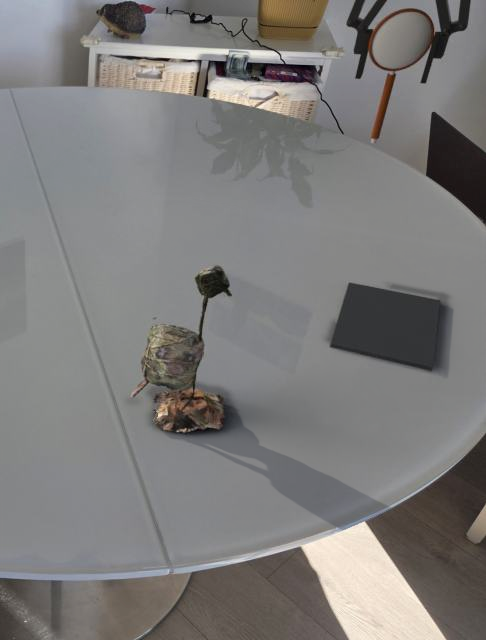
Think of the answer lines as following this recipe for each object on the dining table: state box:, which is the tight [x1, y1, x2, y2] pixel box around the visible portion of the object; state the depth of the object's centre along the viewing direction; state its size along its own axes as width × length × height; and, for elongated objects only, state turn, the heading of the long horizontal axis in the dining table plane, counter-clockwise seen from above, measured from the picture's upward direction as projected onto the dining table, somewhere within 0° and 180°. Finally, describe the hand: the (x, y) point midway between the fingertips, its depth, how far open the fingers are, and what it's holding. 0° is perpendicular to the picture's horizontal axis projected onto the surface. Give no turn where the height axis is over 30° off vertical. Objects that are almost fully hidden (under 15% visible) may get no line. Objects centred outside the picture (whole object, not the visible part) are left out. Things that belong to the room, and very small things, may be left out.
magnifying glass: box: [368, 7, 435, 145], centre depth 98 cm, size 9×2×20 cm, turn 79°
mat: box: [329, 282, 441, 372], centre depth 88 cm, size 12×16×1 cm
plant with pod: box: [130, 264, 233, 433], centre depth 72 cm, size 8×11×20 cm
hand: (390, 78), depth 98 cm, fingers closed on magnifying glass, 8 cm apart
